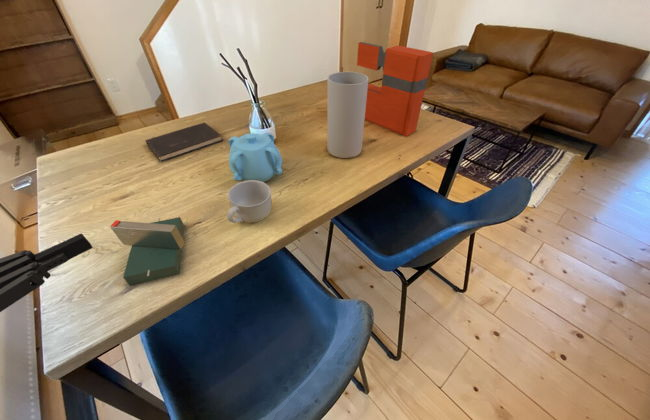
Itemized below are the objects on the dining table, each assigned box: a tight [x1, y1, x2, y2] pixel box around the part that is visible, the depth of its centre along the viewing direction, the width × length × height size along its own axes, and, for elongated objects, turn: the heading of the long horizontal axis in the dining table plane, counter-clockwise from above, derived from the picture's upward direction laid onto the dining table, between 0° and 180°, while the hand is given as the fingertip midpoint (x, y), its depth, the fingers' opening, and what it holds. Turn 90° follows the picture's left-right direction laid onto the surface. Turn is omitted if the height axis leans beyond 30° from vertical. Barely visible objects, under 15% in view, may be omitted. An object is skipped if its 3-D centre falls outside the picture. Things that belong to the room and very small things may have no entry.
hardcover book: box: [144, 122, 223, 163], centre depth 105 cm, size 16×23×2 cm
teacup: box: [226, 180, 273, 224], centre depth 72 cm, size 14×11×8 cm
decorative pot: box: [228, 132, 283, 183], centre depth 86 cm, size 16×16×14 cm
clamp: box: [356, 41, 434, 137], centre depth 110 cm, size 9×35×28 cm, turn 44°
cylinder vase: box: [326, 71, 369, 159], centre depth 92 cm, size 12×12×25 cm
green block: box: [109, 216, 197, 286], centre depth 65 cm, size 18×18×3 cm
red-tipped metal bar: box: [109, 220, 186, 249], centre depth 62 cm, size 14×2×6 cm, turn 84°
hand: (87, 240), depth 48 cm, fingers closed
